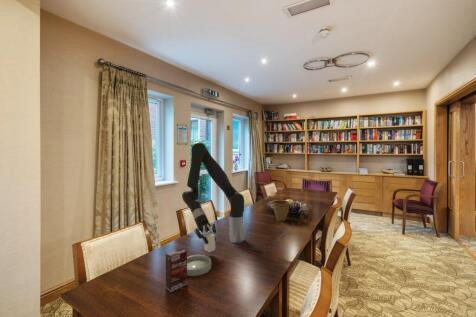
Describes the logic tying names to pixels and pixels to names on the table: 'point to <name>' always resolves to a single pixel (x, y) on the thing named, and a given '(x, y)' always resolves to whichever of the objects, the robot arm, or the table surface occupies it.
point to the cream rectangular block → (210, 242)
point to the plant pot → (281, 209)
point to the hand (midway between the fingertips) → (211, 242)
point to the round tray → (198, 265)
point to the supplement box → (176, 269)
